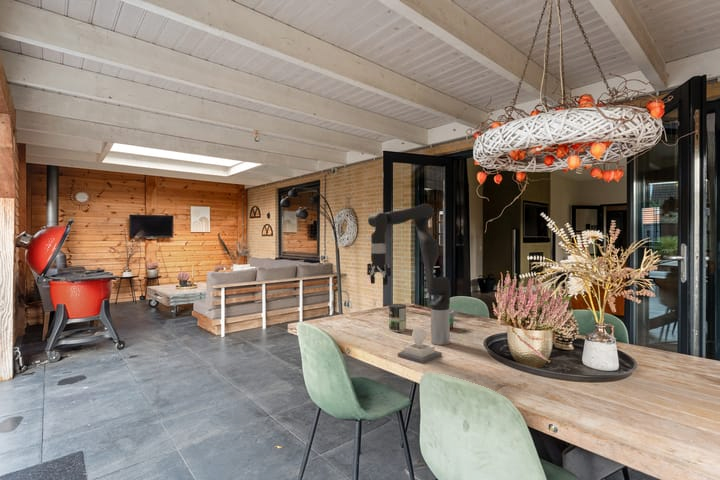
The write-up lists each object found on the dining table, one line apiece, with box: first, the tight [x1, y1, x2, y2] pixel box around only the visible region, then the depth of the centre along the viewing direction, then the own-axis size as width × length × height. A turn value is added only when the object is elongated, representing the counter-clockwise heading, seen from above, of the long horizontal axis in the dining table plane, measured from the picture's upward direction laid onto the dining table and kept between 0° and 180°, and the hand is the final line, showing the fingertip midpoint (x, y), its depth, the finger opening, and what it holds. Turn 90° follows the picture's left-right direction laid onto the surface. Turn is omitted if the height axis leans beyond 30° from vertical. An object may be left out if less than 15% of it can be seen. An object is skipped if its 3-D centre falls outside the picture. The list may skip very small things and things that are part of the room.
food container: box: [449, 309, 456, 331], centre depth 214 cm, size 12×6×10 cm, turn 131°
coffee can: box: [388, 303, 407, 333], centre depth 215 cm, size 10×10×14 cm
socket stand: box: [397, 342, 443, 364], centre depth 167 cm, size 14×14×4 cm
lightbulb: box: [411, 327, 427, 350], centre depth 167 cm, size 6×6×11 cm
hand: (378, 284), depth 188 cm, fingers open, 8 cm apart
